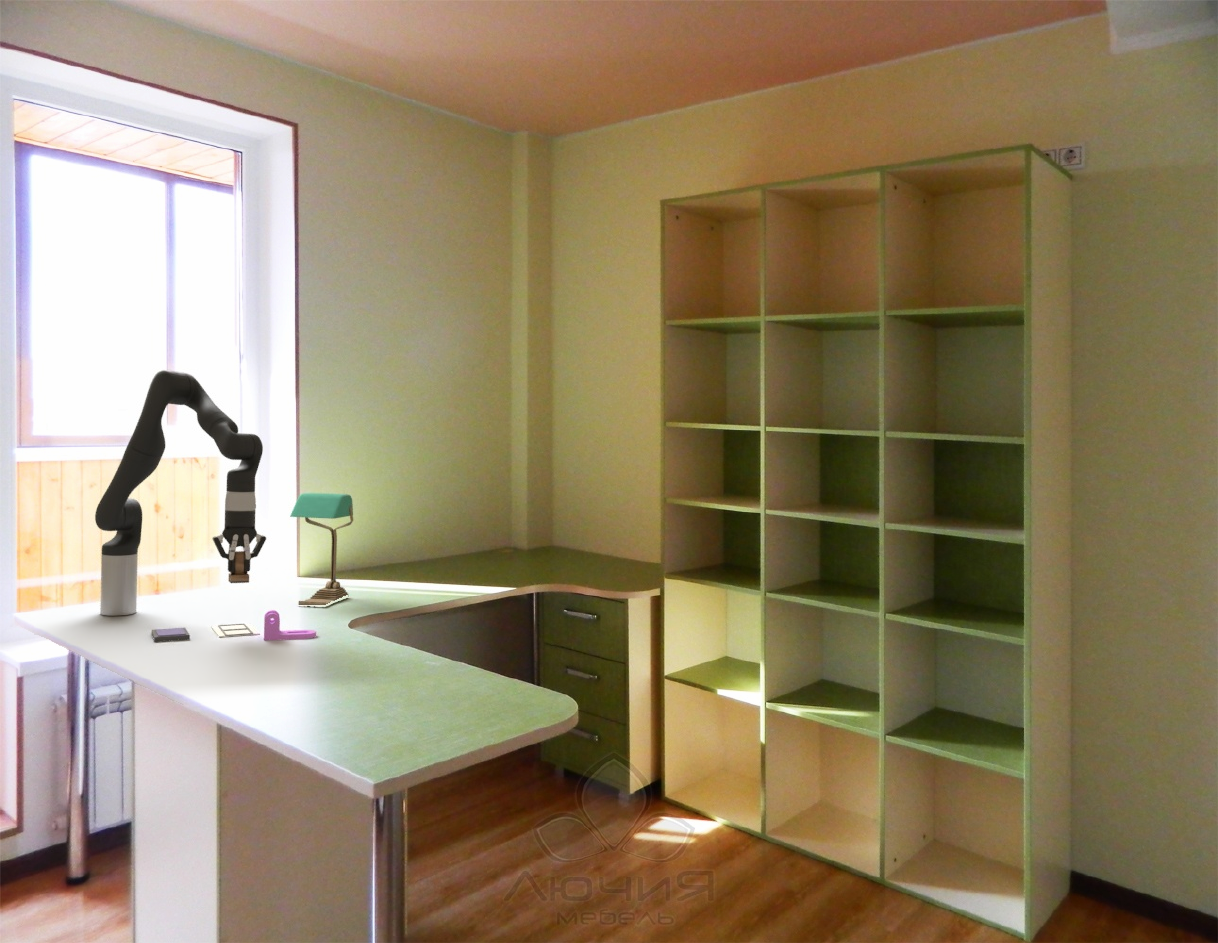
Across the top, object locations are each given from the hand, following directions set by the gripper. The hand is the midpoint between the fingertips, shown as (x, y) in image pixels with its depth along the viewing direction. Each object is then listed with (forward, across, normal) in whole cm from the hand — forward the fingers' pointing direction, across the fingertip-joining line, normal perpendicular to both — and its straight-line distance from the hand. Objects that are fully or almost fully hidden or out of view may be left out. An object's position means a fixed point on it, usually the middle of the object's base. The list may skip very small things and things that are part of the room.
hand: (238, 573), depth 243 cm
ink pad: (+16, +16, -2) cm, 23 cm away
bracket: (+17, -12, +9) cm, 22 cm away
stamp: (+2, 0, 0) cm, 2 cm away
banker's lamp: (+16, -32, -40) cm, 53 cm away
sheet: (+16, 0, -4) cm, 16 cm away
